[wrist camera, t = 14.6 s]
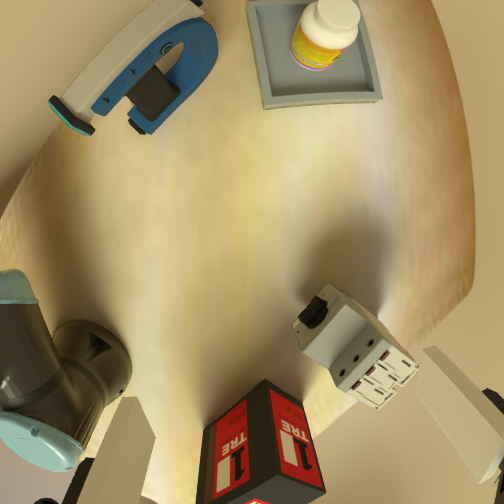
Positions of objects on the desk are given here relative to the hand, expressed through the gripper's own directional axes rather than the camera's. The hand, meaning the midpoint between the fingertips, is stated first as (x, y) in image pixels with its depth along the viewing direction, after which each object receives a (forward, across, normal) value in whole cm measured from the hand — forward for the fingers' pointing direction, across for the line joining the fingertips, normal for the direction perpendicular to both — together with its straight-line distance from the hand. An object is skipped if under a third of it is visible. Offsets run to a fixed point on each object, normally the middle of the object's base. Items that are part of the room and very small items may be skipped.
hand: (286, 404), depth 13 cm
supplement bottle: (+31, +12, +26) cm, 42 cm away
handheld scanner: (+32, -8, +22) cm, 40 cm away
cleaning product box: (+32, -5, -31) cm, 45 cm away
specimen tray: (+32, +12, +26) cm, 43 cm away
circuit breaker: (+32, +10, -12) cm, 36 cm away
